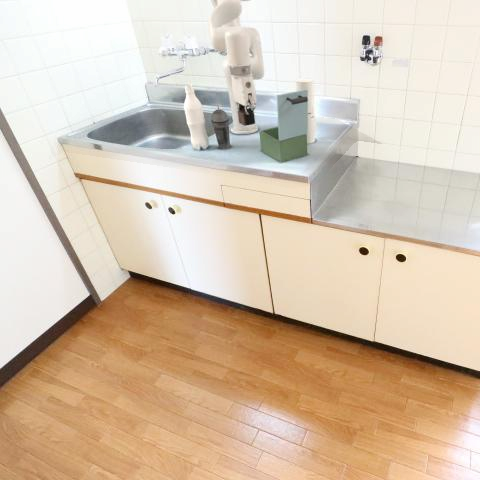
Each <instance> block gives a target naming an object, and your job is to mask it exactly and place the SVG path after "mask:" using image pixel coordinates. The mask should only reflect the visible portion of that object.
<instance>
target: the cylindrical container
mask: <svg viewBox="0 0 480 480" xmlns="http://www.w3.org/2000/svg"><path fill="white" fill-rule="evenodd" d="M314 80H315V79H314V78H309V77H302V78H296V79H295V92H297V91H302V90H308V124H307V145H309V144H313V143H315V141H316V130H315V129H316V125H315V124H316V123H315V121H316V119H315V87H314V86H315V83H314Z"/></svg>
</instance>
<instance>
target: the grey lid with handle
mask: <svg viewBox="0 0 480 480" xmlns="http://www.w3.org/2000/svg"><path fill="white" fill-rule="evenodd" d="M276 105H277V106H276V107H277V109H276V110H277V127H278V133H279V140H280V141H281V140H284V139H288V138H292V137H296V136H300V135H304V134H307V124H308V90H302V91H297V92H296V91H291V92H286V93H281V94H276Z"/></svg>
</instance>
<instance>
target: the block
mask: <svg viewBox="0 0 480 480" xmlns="http://www.w3.org/2000/svg"><path fill="white" fill-rule="evenodd" d="M245 114H246V112H245V109H244V110H239V111H238V118H239V123H240V124H242V125H244V126H247V125H246V119H245ZM253 114H254V122H255V123H254V125H256V115H255V112H254V113H253Z"/></svg>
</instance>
